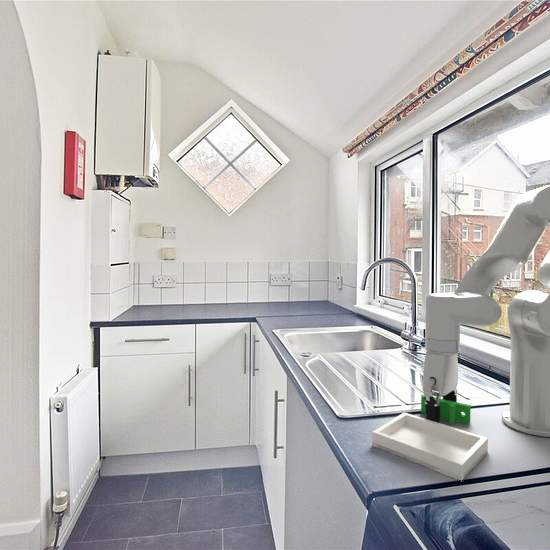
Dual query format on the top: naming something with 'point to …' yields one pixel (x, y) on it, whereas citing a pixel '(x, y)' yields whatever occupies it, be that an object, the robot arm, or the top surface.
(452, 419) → the pipe clamp
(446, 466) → the tray
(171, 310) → the top surface
